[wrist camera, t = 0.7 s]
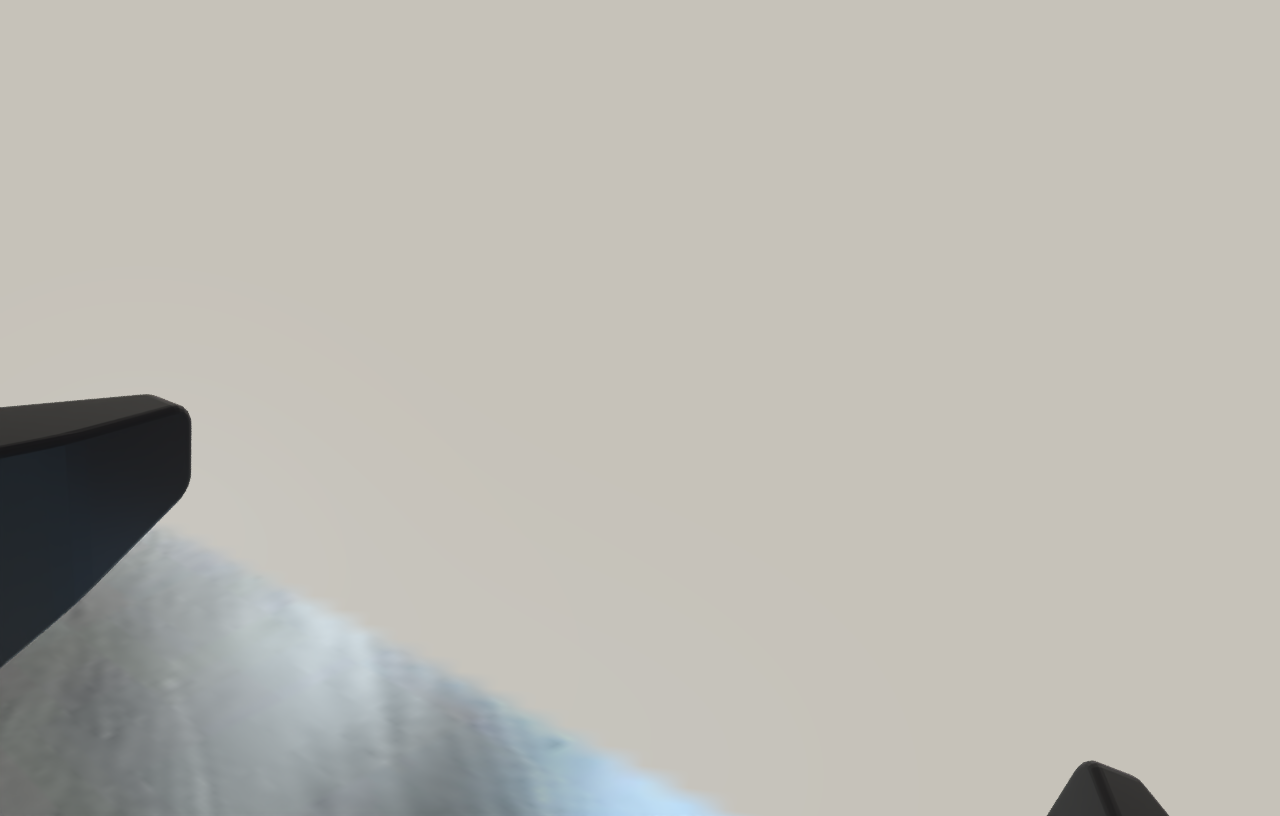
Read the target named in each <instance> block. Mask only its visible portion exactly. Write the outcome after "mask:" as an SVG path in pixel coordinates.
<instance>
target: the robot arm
mask: <svg viewBox="0 0 1280 816" xmlns="http://www.w3.org/2000/svg"><path fill="white" fill-rule="evenodd" d="M190 478H191V418H190V416H189V413H188V411H187V410H186V409H185V408H184V407H182V406H180V405H178V404H175V403H173V402H170V401H168V400H165V399H163V398H160V397H157V396H154V395H149V394H145V395H132V396H121V397H110V398H99V399H88V400H77V401H65V402H55V403H43V404H32V405H21V406H10V407H0V668H1V667H2V666H3V665H5V664H6V663H7V662H8V661H9V660H11V659H12V658H13V657H14V656H15V655H17V654H18V653H19V652H20V651H21V650H22V649H24V648H25V647H26V646H27V645H28V644H30V643H31V642H32V641H33V640H34V639H36V638H37V637H38V636H39V635H40V634H42V633H43V632H44V631H45V630H46V629H48V628H49V627H50V626H51V625H52V624H54V623H55V622H56V621H57V620H58V619H59V618H60V617H62V616H63V615H64V614H65V613H66V612H67V611H68V610H70V609H71V608H72V607H73V606H74V605H75V604H76V603H77V602H78V601H79V600H80V599H81V598H82V597H84V596H85V595H86V594H87V593H88V592H89V591H90V590H91V589H92V588H93V587H94V586H95V585H96V584H97V583H98V582H99V581H100V580H101V579H102V578H103V577H104V576H105V575H106V574H107V573H108V572H109V571H110V570H111V569H112V568H113V567H114V566H115V565H116V564H117V563H118V562H119V561H120V560H121V559H122V558H123V557H124V556H125V555H126V554H127V553H128V552H129V551H130V550H131V549H132V548H133V547H134V545H135V544H136V543H137V542H138V541H139V540H140V539H141V538H142V537H143V536H144V535H145V534H146V533H147V532H148V531H149V530H150V529H151V528H152V527H153V526H154V525H155V524H156V523H157V522H158V521H159V520H160V519H161V518H162V517H163V516H164V515H165V514H166V513H167V512H168V511H169V510H170V509H171V508H172V507H173V506H174V505H175V504H176V503H177V502H178V501H179V500H180V499H181V497H182V496H183V494H184V493H185V491H186V489H187V487H188V485H189V482H190ZM1047 816H1169V815H1168V814H1167V812H1166V811H1165V810H1164V809H1163V808H1162V806H1161V805H1160V804H1159V803H1158V801H1157V800H1156V799H1155V798H1154V797H1153V795H1152V794H1151V793H1150V792H1149V791H1148V789H1147V788H1146V787H1145V786H1144V784H1143V783H1142V782H1141V781H1140V780H1139V779H1137V778H1136V777H1134V776H1132V775H1130V774H1127V773H1125V772H1122V771H1119V770H1117V769H1114V768H1112V767H1109V766H1106V765H1104V764H1101V763H1099V762H1096V761H1087V762H1084V763H1082V764H1081V765H1080V766H1079V767H1078V768H1077V769H1076V770H1075V772H1074V773H1073V775H1072V777H1071V778H1070V780H1069V781H1068V783H1067V784H1066V786H1065V788H1064V789H1063V791H1062V792H1061V794H1060V796H1059V798H1058V799H1057V800H1056V802H1055V804H1054V805H1053V807H1052V808H1051V810H1050V812H1049V813H1048V815H1047Z"/></svg>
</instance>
